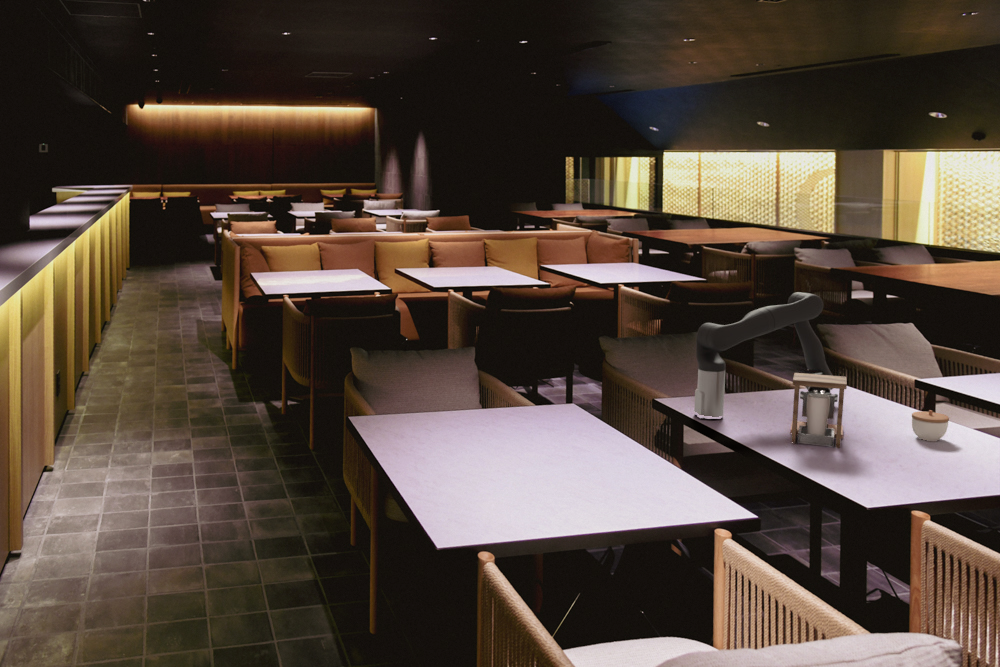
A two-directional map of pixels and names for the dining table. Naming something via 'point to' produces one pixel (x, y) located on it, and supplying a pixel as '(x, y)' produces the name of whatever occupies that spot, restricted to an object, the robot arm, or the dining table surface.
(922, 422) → the lidded jar
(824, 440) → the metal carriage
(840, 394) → the walnut tunnel
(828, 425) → the board
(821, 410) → the drinking glass
